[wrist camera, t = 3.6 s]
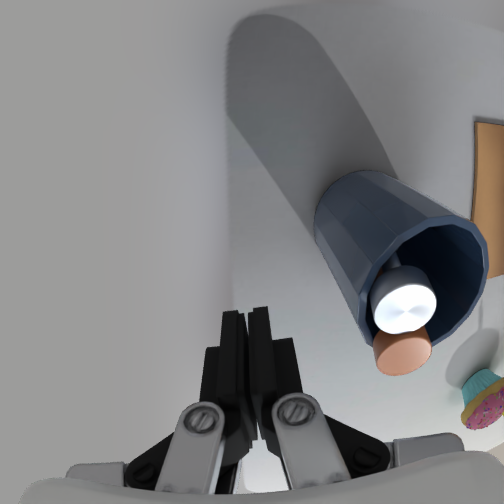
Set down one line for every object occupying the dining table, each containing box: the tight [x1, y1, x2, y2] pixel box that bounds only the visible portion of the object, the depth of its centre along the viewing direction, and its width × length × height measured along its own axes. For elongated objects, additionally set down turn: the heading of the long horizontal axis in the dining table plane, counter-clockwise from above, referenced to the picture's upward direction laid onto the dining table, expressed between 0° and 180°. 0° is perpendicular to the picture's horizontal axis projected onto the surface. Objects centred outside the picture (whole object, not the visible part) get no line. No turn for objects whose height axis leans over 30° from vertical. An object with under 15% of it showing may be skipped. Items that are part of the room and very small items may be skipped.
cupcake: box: [461, 369, 504, 430], centre depth 24 cm, size 9×8×12 cm
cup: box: [314, 170, 489, 347], centre depth 16 cm, size 7×7×9 cm
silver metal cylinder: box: [370, 251, 437, 334], centre depth 14 cm, size 3×3×10 cm
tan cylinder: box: [373, 267, 432, 376], centre depth 15 cm, size 3×3×10 cm
